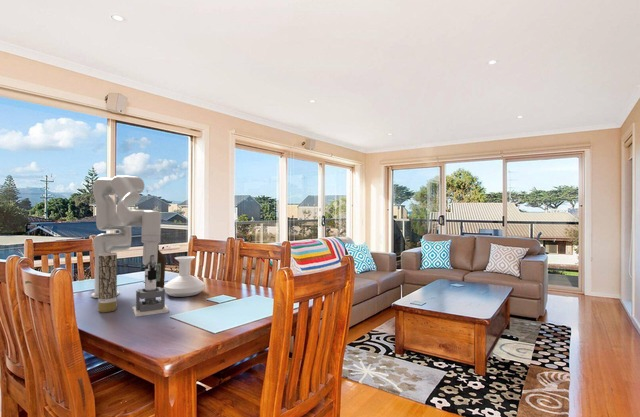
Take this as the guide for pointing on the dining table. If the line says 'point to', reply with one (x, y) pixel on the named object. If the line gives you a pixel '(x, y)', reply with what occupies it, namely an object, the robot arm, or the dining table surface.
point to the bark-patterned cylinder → (107, 282)
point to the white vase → (184, 280)
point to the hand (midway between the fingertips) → (150, 277)
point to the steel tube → (149, 288)
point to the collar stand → (151, 308)
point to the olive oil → (160, 269)
